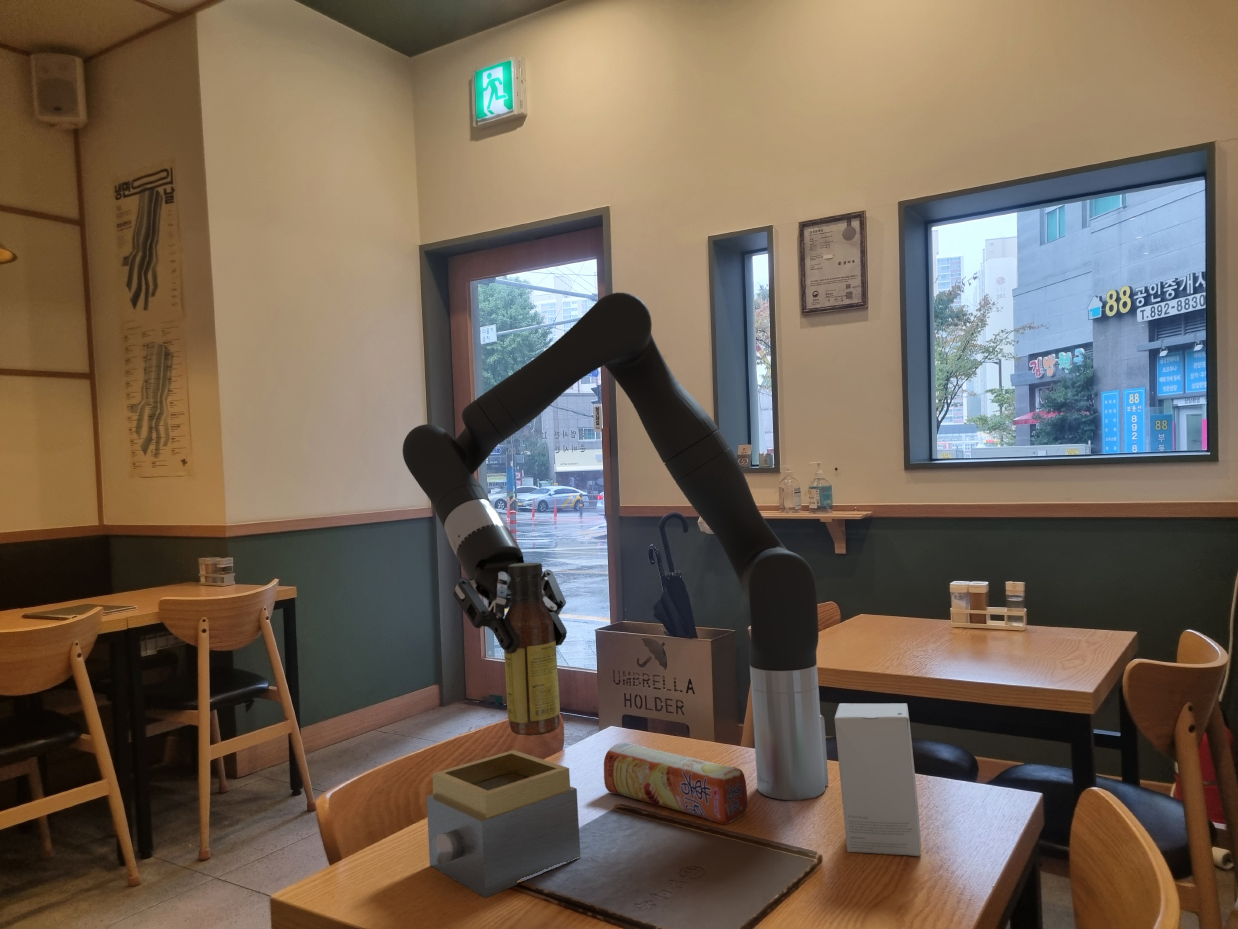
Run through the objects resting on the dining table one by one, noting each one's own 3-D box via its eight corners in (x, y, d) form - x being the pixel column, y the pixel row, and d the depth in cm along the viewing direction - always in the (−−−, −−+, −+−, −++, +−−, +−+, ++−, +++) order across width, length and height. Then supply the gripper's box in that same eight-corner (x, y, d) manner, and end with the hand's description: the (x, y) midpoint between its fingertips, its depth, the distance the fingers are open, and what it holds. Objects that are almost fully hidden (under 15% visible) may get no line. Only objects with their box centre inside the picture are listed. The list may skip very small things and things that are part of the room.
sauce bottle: (564, 723, 103) (560, 560, 104) (555, 738, 97) (551, 565, 98) (512, 723, 104) (508, 561, 105) (499, 737, 98) (496, 566, 98)
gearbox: (521, 831, 107) (517, 748, 107) (580, 858, 98) (575, 767, 98) (414, 871, 97) (410, 779, 98) (469, 904, 88) (464, 803, 89)
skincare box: (920, 836, 99) (911, 702, 99) (921, 860, 92) (911, 717, 93) (847, 830, 101) (838, 700, 102) (843, 853, 95) (833, 714, 96)
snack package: (753, 814, 109) (749, 761, 109) (722, 830, 104) (719, 775, 105) (632, 783, 124) (629, 736, 124) (600, 796, 119) (598, 748, 119)
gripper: (442, 524, 102) (498, 633, 93) (539, 519, 112) (599, 617, 102) (422, 566, 106) (474, 674, 97) (518, 558, 115) (573, 656, 106)
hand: (538, 644), depth 99 cm, fingers closed on sauce bottle, 6 cm apart
